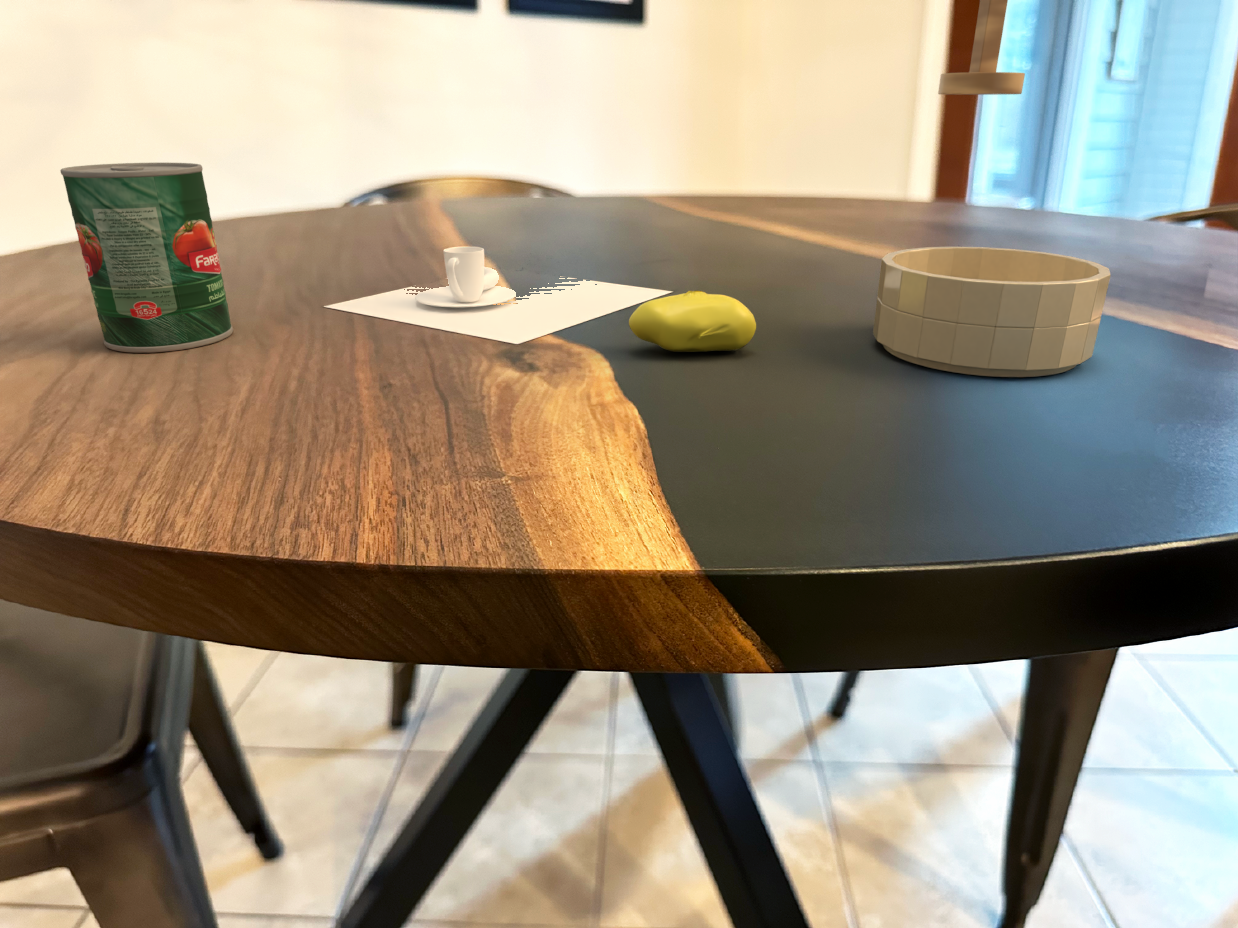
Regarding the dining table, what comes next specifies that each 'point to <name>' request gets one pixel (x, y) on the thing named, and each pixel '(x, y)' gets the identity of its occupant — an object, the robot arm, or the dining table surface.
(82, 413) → the dining table surface
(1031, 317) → the bowl
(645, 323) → the lemon
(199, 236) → the canned tomato
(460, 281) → the teacup and saucer
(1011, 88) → the flat wooden stick
